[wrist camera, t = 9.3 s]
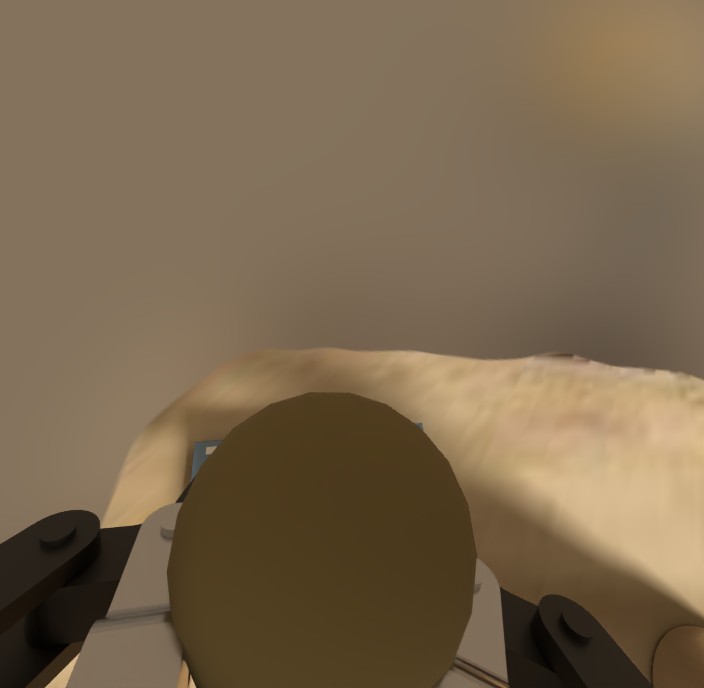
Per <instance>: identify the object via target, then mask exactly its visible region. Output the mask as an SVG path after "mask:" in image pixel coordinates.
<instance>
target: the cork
mask: <svg viewBox="0 0 704 688" xmlns="http://www.w3.org/2000/svg"><path fill="white" fill-rule="evenodd" d="M476 561H477V554H476V548H475V542H474V536H473V531H472V525H471V519H470V513H469V508H468V504H467V501H466V499H465V497H464V495H463V493H462V490H461V488H460V486H459V484H458V482H457V479H456V477H455V475H454V473H453V471H452V468H451V466H450V464H449V462H448V460H447V459H446V458H445V457H444V456H443V454H442V453H441V452H440V451H439V450H438V448H437V447H436V446H435V445H434V444H433V442H432V441H431V440H430V439H429V438H428V436H427V435H426V434H425V433H424V431H423V430H422V429H421V428H420V427H419V426H417V425H416V424H414V423H413V422H411V421H410V420H408V419H407V418H405V417H404V416H403V415H401V414H400V413H398V412H397V411H395V410H394V409H392V408H391V407H389V406H388V405H386V404H383V403H380V402H377V401H373V400H370V399H367V398H364V397H361V396H358V395H355V394H351V393H307V394H304V395H300V396H297V397H293V398H290V399H287V400H283V401H280V402H277V403H273V404H270V405H269V406H267V407H266V408H264V409H263V410H261V411H260V412H258V413H256V414H255V415H253V416H252V417H250V418H249V419H247V420H246V421H244V422H243V423H241V424H239V425H238V426H236V427H235V428H233V430H232V431H231V432H230V433H229V434H228V435H227V436H226V438H225V439H224V440H223V441H222V442H221V443H220V444H219V445H218V447H217V448H216V449H215V450H214V451H213V452H212V453H211V455H210V456H209V457H208V458H207V459H206V460H205V461H204V462H203V464H202V465H201V467H200V469H199V471H198V473H197V475H196V477H195V479H194V481H193V483H192V485H191V487H190V489H189V491H188V493H187V495H186V497H185V499H184V501H183V503H182V505H181V507H180V510H179V512H178V514H177V519H176V524H175V530H174V535H173V540H172V545H171V551H170V556H169V561H168V566H167V581H168V592H169V602H170V612H171V617H172V620H173V623H174V626H175V630H176V633H177V635H178V636H179V638H180V640H181V641H182V643H183V645H184V661H185V663H186V665H187V667H188V670H189V672H190V674H191V676H192V679H193V681H194V683H195V686H196V688H431V687H432V686H433V685H434V684H435V683H436V682H437V681H438V680H439V679H440V678H441V677H442V676H443V675H444V673H445V672H446V671H447V670H448V669H449V668H450V667H451V665H452V663H453V662H454V659H455V656H456V654H457V651H458V648H459V646H460V643H461V641H462V638H463V635H464V633H465V630H466V627H467V625H468V622H469V619H470V617H471V614H472V607H473V595H474V584H475V572H476Z"/></svg>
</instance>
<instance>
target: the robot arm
mask: <svg viewBox="0 0 704 688" xmlns="http://www.w3.org/2000/svg"><path fill="white" fill-rule="evenodd" d="M217 447H218V446H217ZM217 447H216V448H217ZM196 475H197V474H196ZM195 477H196V476H195ZM195 477H194V478H193V480H192V481H191V482H190V484H189V485H188V486H187V488H186V489H185V490H184V492H183V493H182V495H181V496H180V497H179V499H178V500H177V501H176V503H174V504H170V505H167V506H164V507H162V508H160V509H158V510H156V511H155V512H153V513H152V514H151V515H149V516H148V517H147V518H146V520H145V521H144V522H143V524H139V525H133V526H124V527H114V528H103V529H100V521H99V519H98V517H97V516H96V515H95V514H93V513H92V512H89V511H84V510H70V511H65V512H60V513H57V514H54V515H51V516H48V517H46V518H44V519H42V520H40V521H38V522H36V523H35V524H33V525H31V526H30V527H28V528H26V529H25V530H23V531H21V532H20V533H18V534H16V535H15V536H13V537H11V538H10V539H8V540H7V541H5V542H3V543H1V544H0V688H45V687H46V686H47V685H48V684H49V683H50V682H51V681H52V680H53V679H54V678H55V677H56V676H57V675H58V674H59V673H60V672H61V671H62V670H63V669H64V668H65V667H66V666H67V665H68V664H69V663H70V662H71V661H72V660H73V659H74V658H75V657H76V656H77V655H78V654H79V653H80V654H79V657H78V659H77V661H76V664H75V666H74V669H73V671H72V673H71V676H70V678H69V681H68V683H67V686H66V688H190V684H191V677H192V676H191V674H190V672H189V670H188V667H187V665H186V663H185V661H184V645H183V643H182V641H181V640H180V638H179V636H178V635H177V633H176V630H175V626H174V623H173V620H172V617H171V612H170V602H169V592H168V581H167V566H168V561H169V556H170V551H171V545H172V540H173V535H174V530H175V524H176V519H177V514H178V512H179V510H180V507H181V505H182V503H183V501H184V499H185V497H186V495H187V493H188V491H189V489H190V487H191V485H192V483H193V481H194V479H195ZM653 686H654V688H704V628H701V627H696V626H688V625H686V626H681V627H676V628H674V629H673V630H671V631H669V632H667V634H666V635H665V636H664V637H663V638H662V639H661V640H660V643H659V645H658V647H657V649H656V651H655V656H654V662H653ZM653 686H652V685H651V684H650V683H649V682H648V680H647V679H646V678H645V677H644V676H643V675H642V673H641V672H640V671H639V670H638V669H637V667H636V666H635V665H634V664H633V663H632V661H631V660H630V659H629V658H628V657H627V656H626V654H625V653H624V652H623V651H622V650H621V648H620V647H619V646H618V645H617V644H616V642H615V641H614V640H613V639H612V638H611V636H610V635H609V634H608V633H607V632H606V631H605V629H604V628H603V627H602V626H601V625H600V623H599V622H598V621H597V620H596V619H595V618H594V617H593V616H592V615H591V614H590V613H589V612H588V611H586V610H585V609H584V608H583V607H581V606H580V605H578V604H577V603H575V602H574V601H572V600H570V599H568V598H566V597H563V596H560V595H546V596H544V597H543V598H542V599H541V600H540V603H539V605H538V606H536V605H534V604H532V603H530V602H528V601H526V600H524V599H522V598H520V597H517V596H515V595H513V594H511V593H509V592H507V591H505V590H504V589H502V588H501V587H499V584H498V581H497V579H496V577H495V575H494V574H493V572H492V571H491V570H490V569H489V567H488V566H487V565H486V564H485V563H483V562H482V561H481V560H480V559H478V558H477V561H476V572H475V584H474V595H473V607H472V614H471V617H470V619H469V622H468V625H467V627H466V630H465V633H464V635H463V638H462V641H461V643H460V646H459V648H458V651H457V654H456V656H455V659H454V662H453V663H452V665H451V667H450V668H449V669H448V670H447V671H446V672H445V673H444V675H443V676H442V677H441V678H440V679H439V680H438V681H437V682H436V683H435V684H434V685H433V686H432V687H431V688H653Z"/></svg>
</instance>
